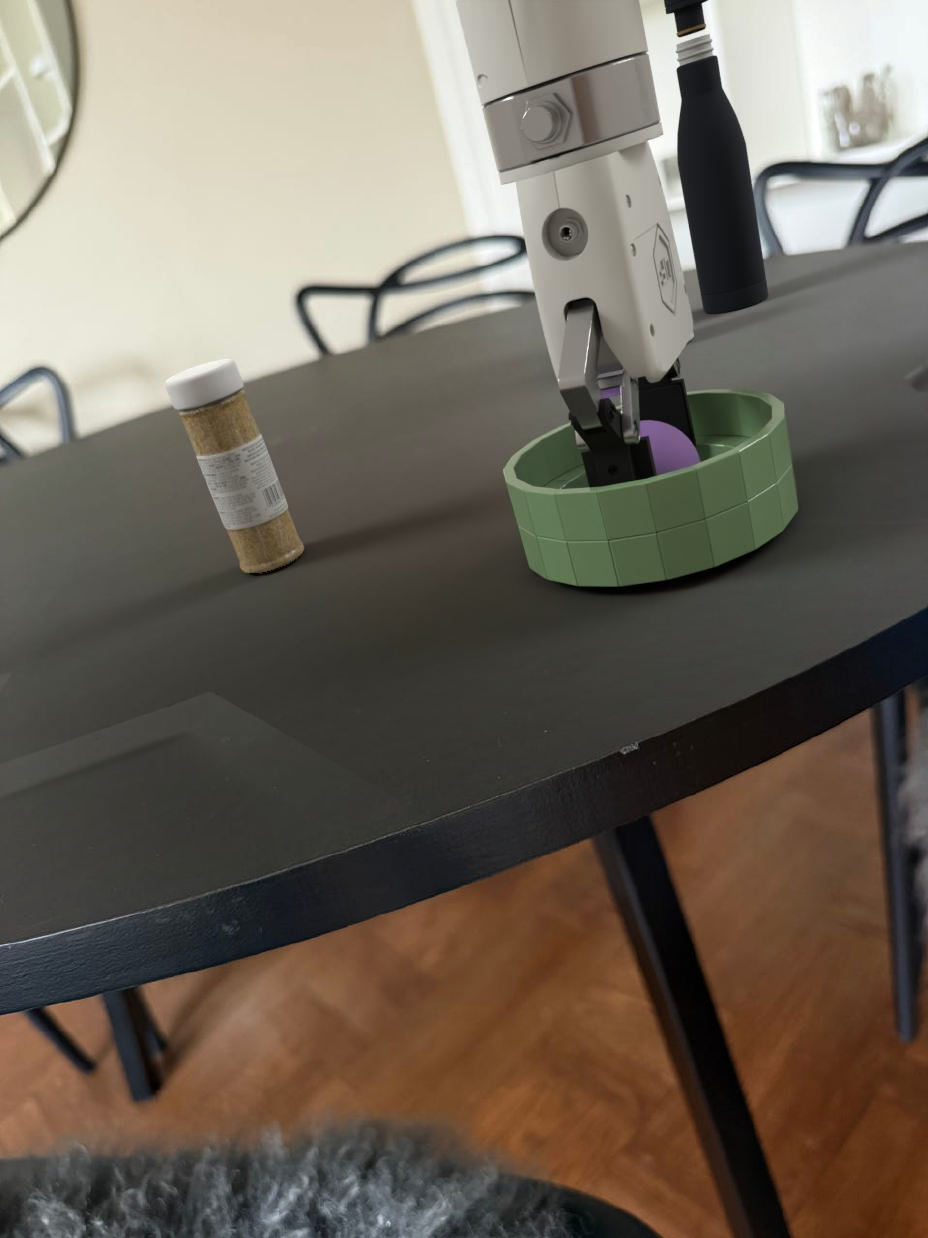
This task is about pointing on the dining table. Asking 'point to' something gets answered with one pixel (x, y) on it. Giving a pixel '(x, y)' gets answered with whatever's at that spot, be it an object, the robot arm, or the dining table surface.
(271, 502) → the spice jar
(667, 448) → the ball
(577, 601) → the dining table surface
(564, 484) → the bowl
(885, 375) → the dining table surface
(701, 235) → the black water bottle
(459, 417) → the dining table surface
